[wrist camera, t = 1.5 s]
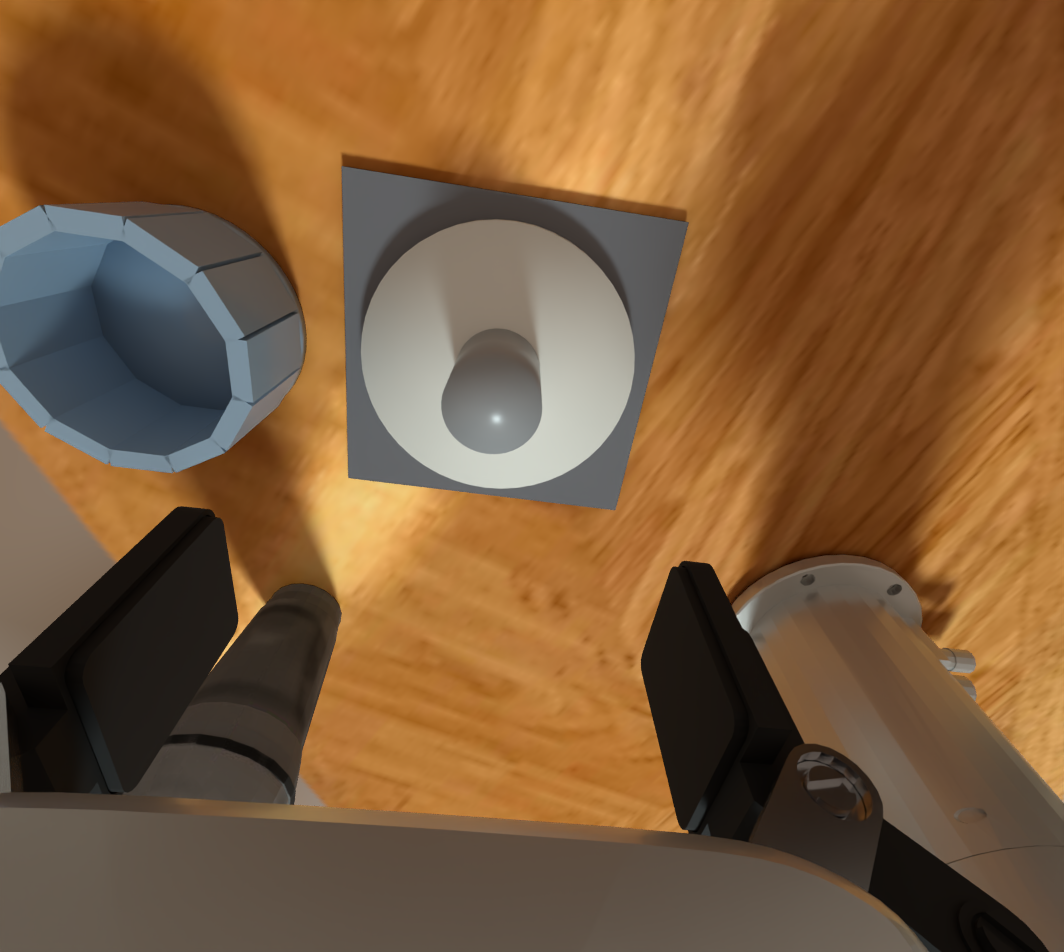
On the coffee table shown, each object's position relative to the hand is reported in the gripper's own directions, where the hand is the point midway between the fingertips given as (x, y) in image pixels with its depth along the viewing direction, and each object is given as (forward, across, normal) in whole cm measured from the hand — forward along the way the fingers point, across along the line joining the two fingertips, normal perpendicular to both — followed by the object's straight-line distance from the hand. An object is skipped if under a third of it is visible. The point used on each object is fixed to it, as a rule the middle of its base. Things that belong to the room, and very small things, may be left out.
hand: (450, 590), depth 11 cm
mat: (+18, 0, 0) cm, 18 cm away
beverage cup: (+18, +10, +18) cm, 27 cm away
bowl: (+18, +14, 0) cm, 23 cm away
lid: (+17, 0, 0) cm, 17 cm away
